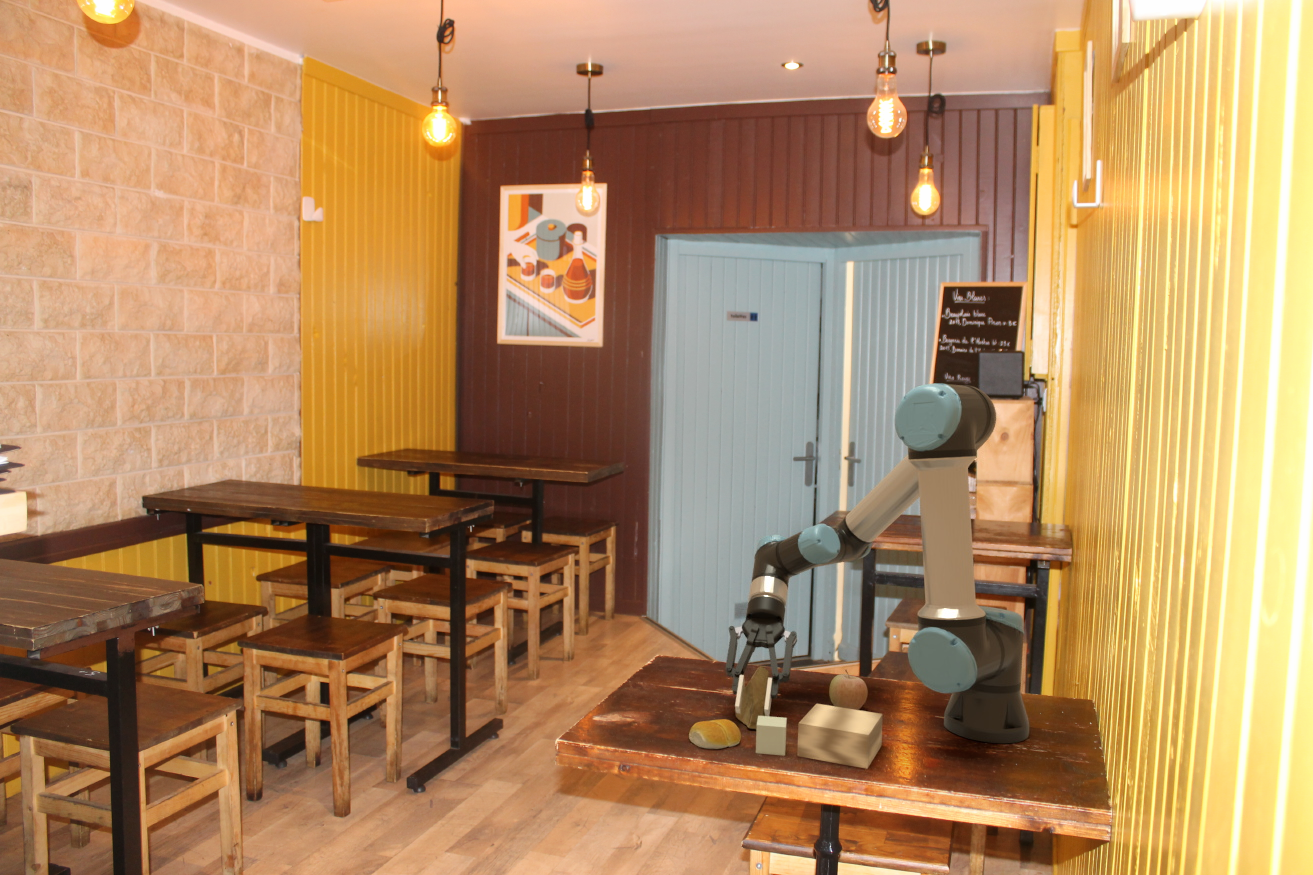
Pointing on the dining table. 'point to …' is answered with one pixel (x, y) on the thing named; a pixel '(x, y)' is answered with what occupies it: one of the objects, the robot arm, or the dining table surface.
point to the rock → (754, 698)
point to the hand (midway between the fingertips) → (752, 710)
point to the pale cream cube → (771, 735)
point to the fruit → (848, 691)
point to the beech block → (840, 735)
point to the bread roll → (715, 734)
